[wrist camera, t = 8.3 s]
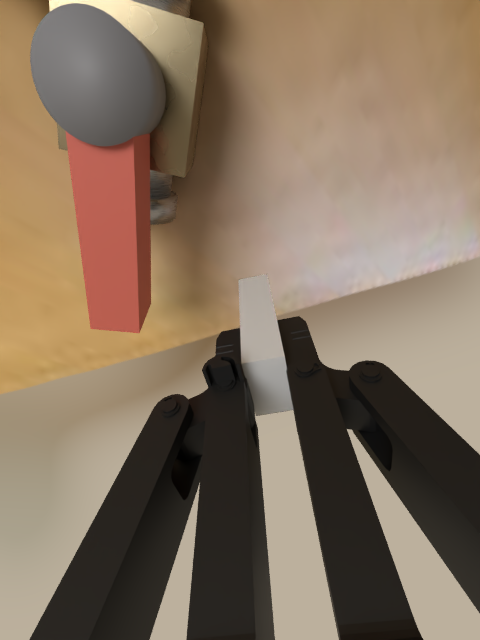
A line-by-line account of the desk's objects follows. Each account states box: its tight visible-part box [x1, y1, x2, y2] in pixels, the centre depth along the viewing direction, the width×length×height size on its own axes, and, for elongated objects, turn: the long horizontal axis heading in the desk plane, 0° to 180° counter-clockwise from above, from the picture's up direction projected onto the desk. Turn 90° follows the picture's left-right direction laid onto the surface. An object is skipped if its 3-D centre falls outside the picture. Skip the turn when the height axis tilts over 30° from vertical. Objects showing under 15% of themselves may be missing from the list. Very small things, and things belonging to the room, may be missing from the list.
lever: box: [30, 3, 166, 333], centre depth 17 cm, size 14×4×4 cm, turn 172°
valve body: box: [49, 0, 209, 224], centre depth 19 cm, size 13×7×7 cm, turn 167°
